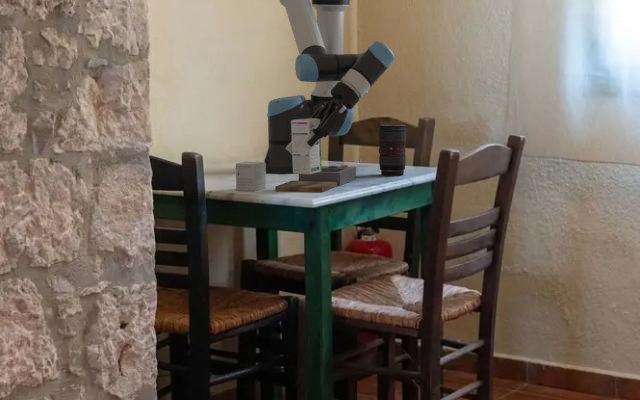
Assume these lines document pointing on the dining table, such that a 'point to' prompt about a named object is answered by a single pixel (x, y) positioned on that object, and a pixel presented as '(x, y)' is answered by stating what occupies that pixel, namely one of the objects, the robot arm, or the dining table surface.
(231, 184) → the dining table surface
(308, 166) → the syrup box
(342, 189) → the dining table surface
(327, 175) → the grey frame with knob
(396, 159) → the camera lens
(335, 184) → the walnut board
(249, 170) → the product box
